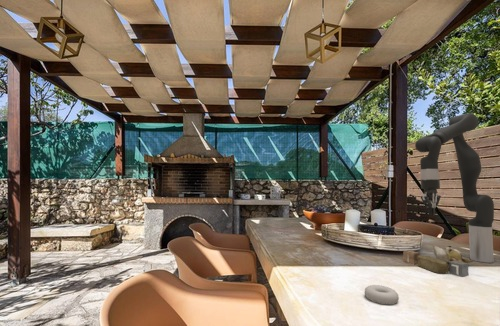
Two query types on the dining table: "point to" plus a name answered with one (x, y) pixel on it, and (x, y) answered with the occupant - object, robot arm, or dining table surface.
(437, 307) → the dining table surface
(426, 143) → the robot arm
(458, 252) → the ceramic sculpture
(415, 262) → the cardboard box
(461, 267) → the charcoal block
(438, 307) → the dining table surface
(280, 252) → the dining table surface
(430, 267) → the stone block
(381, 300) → the donut
